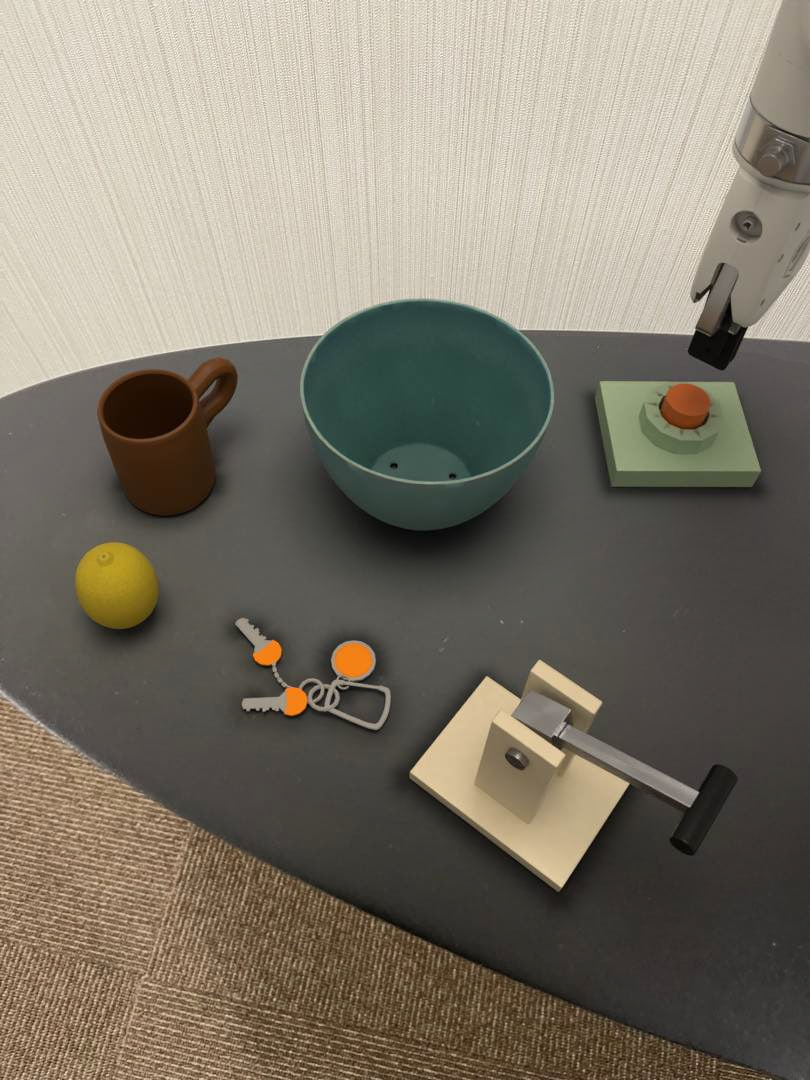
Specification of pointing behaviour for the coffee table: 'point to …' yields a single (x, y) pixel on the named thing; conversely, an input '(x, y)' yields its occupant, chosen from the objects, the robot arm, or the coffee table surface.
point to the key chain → (347, 663)
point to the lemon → (116, 585)
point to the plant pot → (425, 409)
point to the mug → (165, 433)
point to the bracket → (522, 777)
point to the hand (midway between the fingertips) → (709, 356)
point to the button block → (674, 438)
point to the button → (685, 406)
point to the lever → (633, 770)
